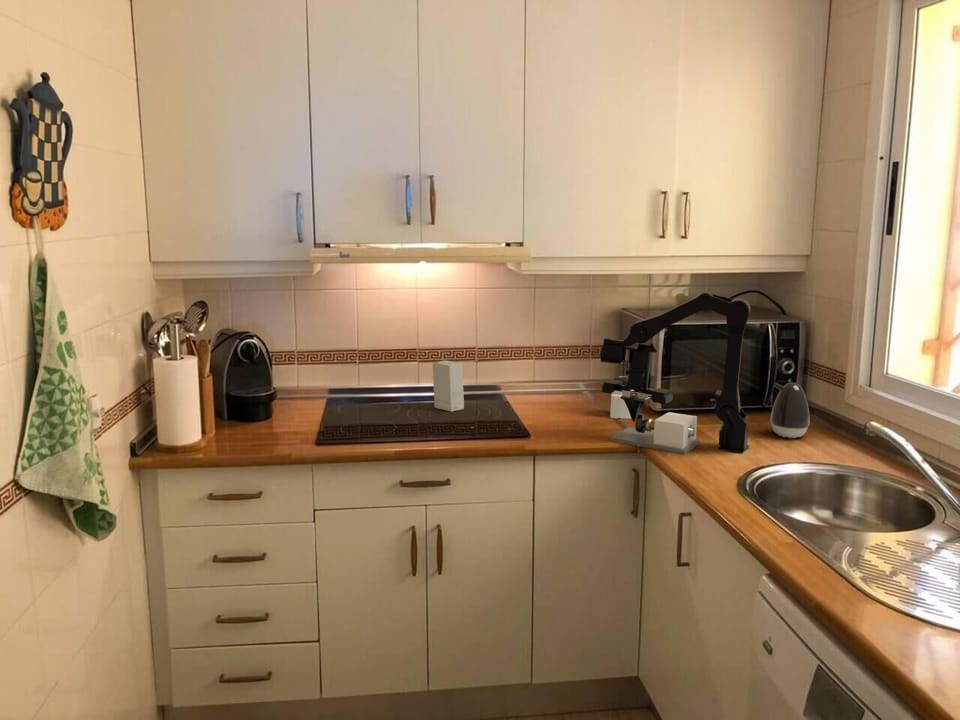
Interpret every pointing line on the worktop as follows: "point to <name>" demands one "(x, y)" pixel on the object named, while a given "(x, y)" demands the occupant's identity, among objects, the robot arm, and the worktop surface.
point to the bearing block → (663, 434)
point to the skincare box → (448, 385)
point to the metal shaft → (648, 425)
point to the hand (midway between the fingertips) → (634, 421)
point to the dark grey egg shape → (790, 411)
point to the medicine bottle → (619, 403)
